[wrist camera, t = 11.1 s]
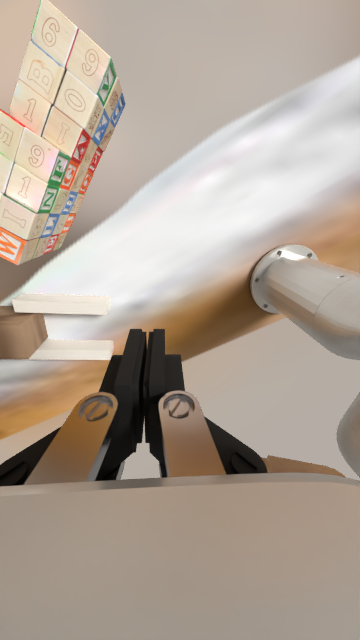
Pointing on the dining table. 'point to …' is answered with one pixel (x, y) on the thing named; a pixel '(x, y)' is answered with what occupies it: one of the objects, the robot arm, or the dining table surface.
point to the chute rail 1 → (62, 304)
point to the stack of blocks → (53, 134)
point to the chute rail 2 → (74, 350)
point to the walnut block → (20, 333)
